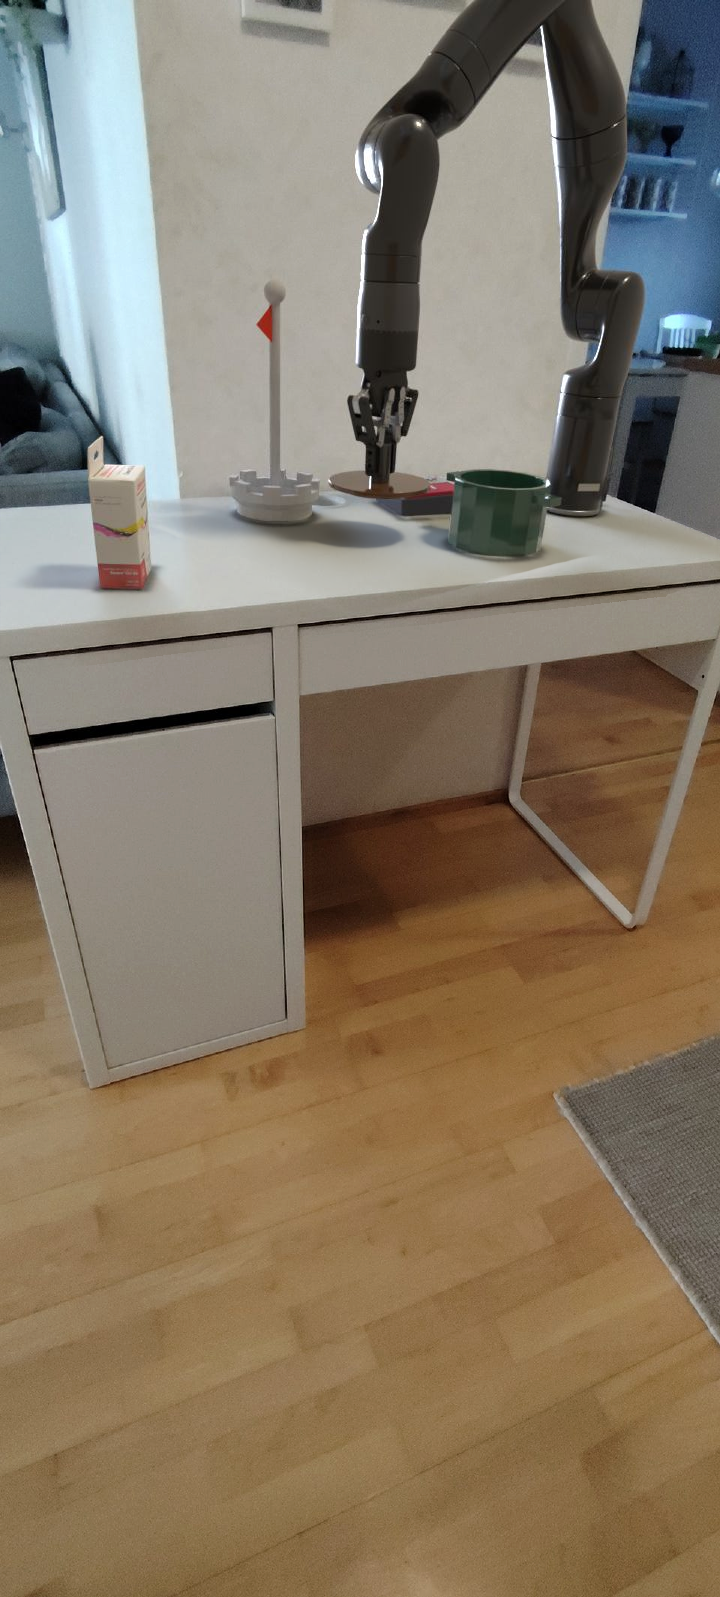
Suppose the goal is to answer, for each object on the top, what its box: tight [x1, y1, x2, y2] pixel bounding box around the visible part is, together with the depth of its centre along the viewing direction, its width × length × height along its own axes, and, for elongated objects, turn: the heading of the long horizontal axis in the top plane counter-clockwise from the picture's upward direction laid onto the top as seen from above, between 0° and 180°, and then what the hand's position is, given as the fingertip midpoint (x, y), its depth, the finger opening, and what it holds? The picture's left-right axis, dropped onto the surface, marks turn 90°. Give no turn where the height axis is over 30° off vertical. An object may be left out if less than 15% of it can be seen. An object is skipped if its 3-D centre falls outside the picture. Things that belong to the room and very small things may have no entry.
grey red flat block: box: [375, 475, 454, 517], centre depth 132 cm, size 11×4×15 cm
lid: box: [328, 441, 431, 500], centre depth 111 cm, size 14×14×6 cm
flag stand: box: [229, 278, 321, 522], centre depth 117 cm, size 13×13×30 cm
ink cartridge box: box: [87, 435, 153, 590], centre depth 93 cm, size 9×5×15 cm, turn 5°
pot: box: [446, 468, 561, 558], centre depth 114 cm, size 13×18×9 cm
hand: (380, 473), depth 112 cm, fingers closed on lid, 2 cm apart
